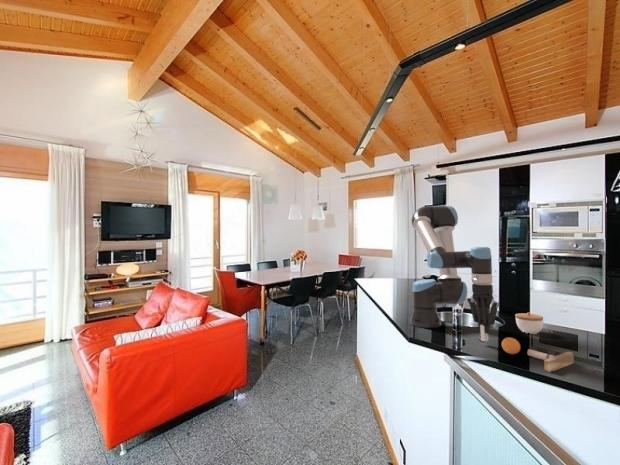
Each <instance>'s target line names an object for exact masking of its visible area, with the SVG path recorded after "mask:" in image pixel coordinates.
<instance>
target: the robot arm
mask: <svg viewBox="0 0 620 465" xmlns="http://www.w3.org/2000/svg"><path fill="white" fill-rule="evenodd" d="M458 222H459V216H458V211H456V208H454V207H453V206H451V205H428V206H427V205H426V206H425V205H424V206H421V207H419V208H417V209H416V211H415V212H413V214H412V217H411V225H412V228H413V229H414V230H415V231H417V233H418V235H419V237H420V239H421V241H422V243H423V245H424V247H425V250H426V252H427V254H426V264H427V266H428V268H430V269H437V270H438V269H439V277H437V281H436V280H435V279H432V278H430V279H428V278H427V279H421V280H416V281H414V282H413V283H412V305H413V306H412V308H413V309H412V313H411V316H410V320H409V321H410V325H412V326H414V327H418V328H424V329H434V328H435V329H437V328H440V327H441V326H442V320H441V318H440V315H439V312H438V311H437V310H438V308H437V307H438V306H437V305H459V303H462V304H463V303H464V302H465V301H466V300H467V302H468V304H469V307H470V311H471V316H472V319H473V322H475V323H477V324H478V332H480V341H482V342H489V334H490V332H491V328H490V326H493V325H495V323H496V317H497V313H498V308H499V307H500V305H501V303H500V302H499V301H496V300H495V297H494V296H493V293H494V291H493V290H494V289H493V288H494V286H493V274H492V272H493V269H492V268H493V265H492V264H493V263H492V257H493V256H492V252H491V251H492V249H491V248H490V247H488V246H478V247H477V246H475V247H474V246H473V247H470V250H463V251H456V250H455V245H454V244H455V243H454V238H453V237H454V236H453V231H454V230H455V227H456V226H457V225H458ZM457 269H470V270H471V282H472V283H473V284H471V289H472V290H471V291H472V296H471V297H470V298H467V297H468V286H467V284H466V282H464V281H462V277H461V276H460V275H458V270H457Z"/></svg>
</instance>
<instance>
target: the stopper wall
mask: <svg viewBox="0 0 620 465" xmlns="http://www.w3.org/2000/svg"><path fill="white" fill-rule="evenodd" d="M553 356H554V357H552V358H549V359H546V360H543V364H544V365H543V366H544V368H543V369H544V370H546V371H549V372H550V373H552V372H551V371H553V372H555V371H558V370H560V369H562V368H565V367H567V366H571V365H572V364H574V360H575V358H574V352H571V351H566V352H563V353H560V354H557V355H553ZM546 371H545V372H546ZM549 372H548V373H549Z"/></svg>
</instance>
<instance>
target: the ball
mask: <svg viewBox="0 0 620 465" xmlns="http://www.w3.org/2000/svg"><path fill="white" fill-rule="evenodd" d="M501 348H502V349H503V351H504V352H505V353H507V354H510V355H516V354H518V353H520V351H521V344H520V342H519V341H518V340H517V339H516V338H513V337H505V338H503V340H502V341H501Z"/></svg>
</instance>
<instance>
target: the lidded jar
mask: <svg viewBox="0 0 620 465" xmlns="http://www.w3.org/2000/svg"><path fill="white" fill-rule="evenodd" d="M514 316H515V323H516V326H517V327H518V329H519V330H520V331H521V332H522V333H524V332H525V333H524V334H528V333H530V334H529V335H538V334H539V332H541V330H543V327H544V326H543V325H544V316H542V315H539V314H535V313H534V314H533V313H531V312H530V311H527V313H525V312H524V313H522V312H521V313H516V314H514ZM537 333H538V334H537Z"/></svg>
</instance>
